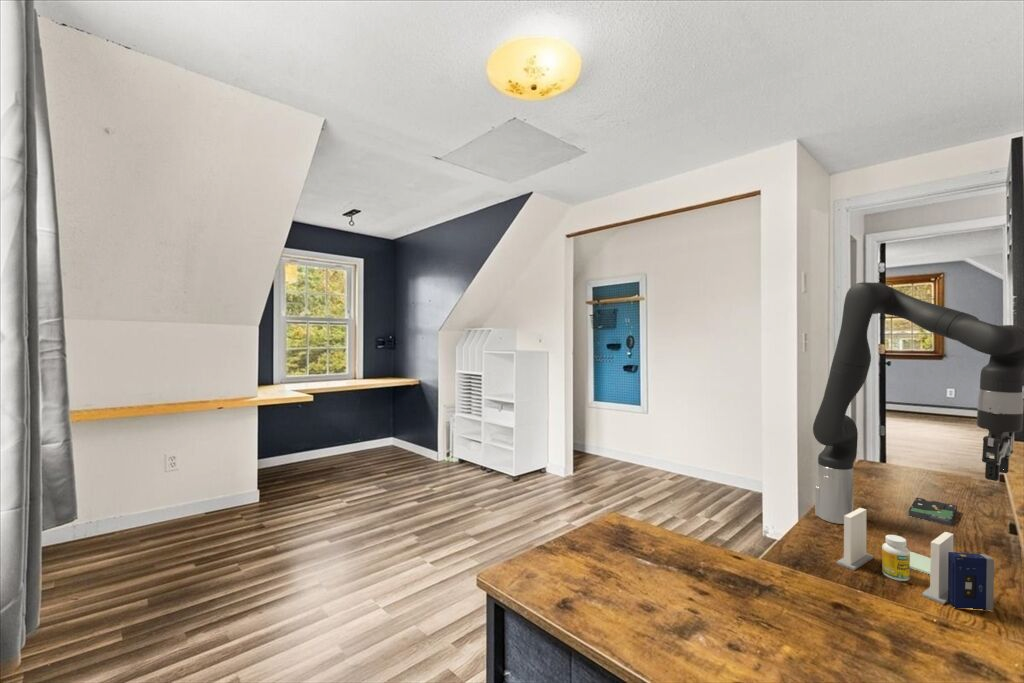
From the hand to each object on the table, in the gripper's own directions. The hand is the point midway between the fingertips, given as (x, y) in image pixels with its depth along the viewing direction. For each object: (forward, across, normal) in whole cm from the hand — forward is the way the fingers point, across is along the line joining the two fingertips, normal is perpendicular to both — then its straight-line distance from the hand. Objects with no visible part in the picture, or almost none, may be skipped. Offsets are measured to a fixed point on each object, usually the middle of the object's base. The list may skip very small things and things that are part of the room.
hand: (996, 476), depth 112 cm
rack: (+26, +16, -14) cm, 34 cm away
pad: (+26, +5, -12) cm, 29 cm away
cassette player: (+26, +19, 0) cm, 32 cm away
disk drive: (+27, -36, -20) cm, 49 cm away
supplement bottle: (+26, +16, -14) cm, 34 cm away
